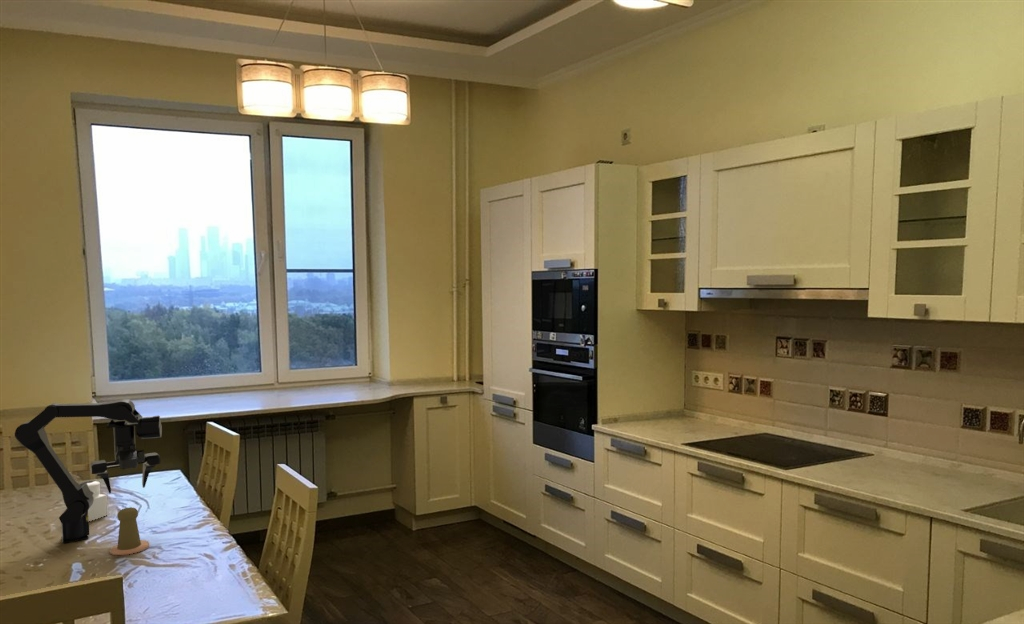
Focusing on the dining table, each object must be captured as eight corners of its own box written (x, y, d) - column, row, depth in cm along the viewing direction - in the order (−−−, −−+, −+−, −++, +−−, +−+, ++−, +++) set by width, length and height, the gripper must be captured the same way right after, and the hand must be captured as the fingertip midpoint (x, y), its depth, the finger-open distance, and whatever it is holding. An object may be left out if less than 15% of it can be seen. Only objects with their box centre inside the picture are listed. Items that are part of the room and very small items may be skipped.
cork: (126, 551, 198) (124, 513, 198) (112, 548, 201) (110, 510, 200) (145, 544, 203) (143, 506, 203) (132, 541, 206) (130, 504, 206)
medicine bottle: (72, 520, 229) (71, 484, 229) (93, 513, 236) (91, 478, 236) (88, 522, 227) (86, 486, 226) (108, 515, 233) (106, 480, 233)
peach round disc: (112, 558, 195) (112, 555, 195) (108, 548, 203) (107, 545, 203) (152, 549, 201) (152, 546, 201) (146, 540, 209) (146, 537, 209)
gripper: (92, 449, 204) (95, 502, 204) (162, 440, 215) (165, 490, 215) (88, 443, 213) (91, 494, 213) (156, 434, 224) (158, 482, 224)
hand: (127, 490), depth 216 cm, fingers open, 9 cm apart
